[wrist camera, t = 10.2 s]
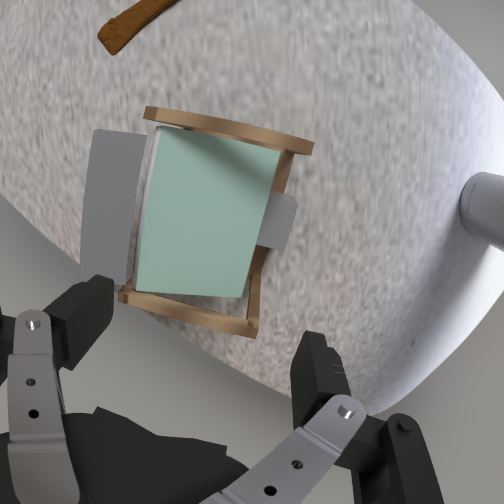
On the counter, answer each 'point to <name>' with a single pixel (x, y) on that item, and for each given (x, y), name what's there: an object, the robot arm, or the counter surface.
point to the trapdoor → (175, 210)
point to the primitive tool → (130, 23)
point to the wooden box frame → (251, 324)
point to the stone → (277, 221)
